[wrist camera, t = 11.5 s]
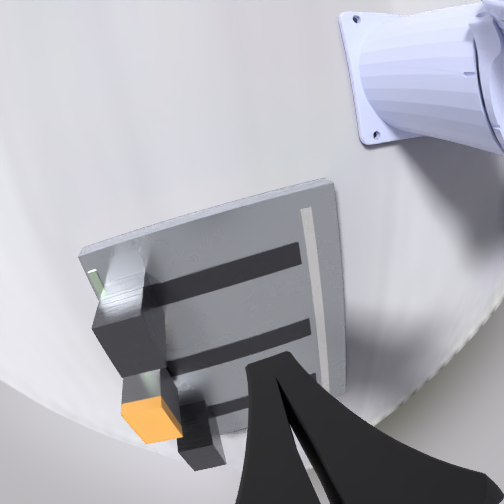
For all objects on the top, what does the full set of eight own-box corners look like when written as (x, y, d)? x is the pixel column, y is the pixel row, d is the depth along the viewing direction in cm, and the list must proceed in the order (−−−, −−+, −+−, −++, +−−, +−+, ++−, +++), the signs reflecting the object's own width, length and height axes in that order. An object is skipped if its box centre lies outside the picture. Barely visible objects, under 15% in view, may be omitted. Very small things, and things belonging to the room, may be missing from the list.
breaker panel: (323, 177, 18) (374, 204, 13) (340, 383, 26) (366, 426, 22) (83, 247, 16) (56, 297, 12) (185, 431, 24) (193, 482, 20)
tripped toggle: (159, 356, 18) (161, 406, 15) (177, 389, 20) (182, 437, 16) (124, 365, 18) (120, 414, 15) (145, 396, 20) (146, 444, 16)
